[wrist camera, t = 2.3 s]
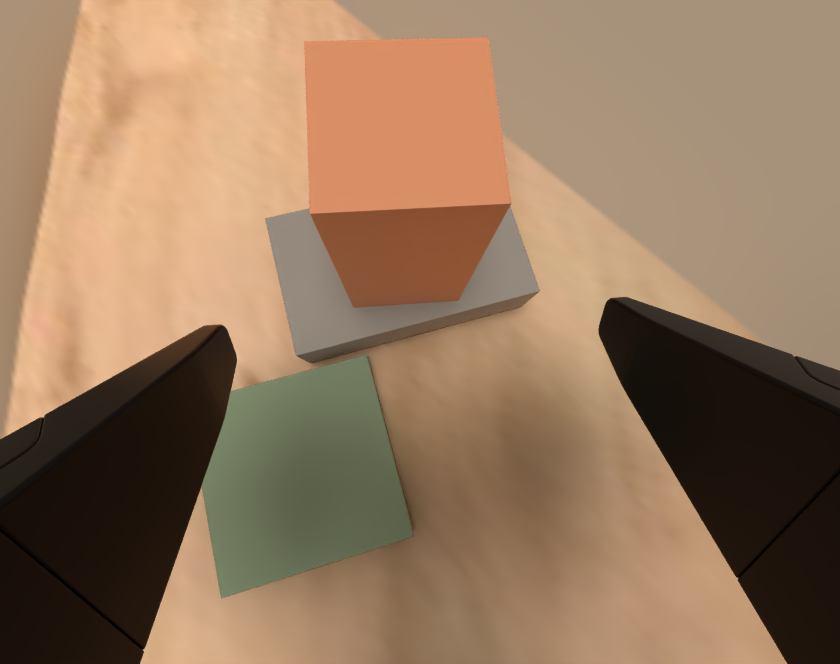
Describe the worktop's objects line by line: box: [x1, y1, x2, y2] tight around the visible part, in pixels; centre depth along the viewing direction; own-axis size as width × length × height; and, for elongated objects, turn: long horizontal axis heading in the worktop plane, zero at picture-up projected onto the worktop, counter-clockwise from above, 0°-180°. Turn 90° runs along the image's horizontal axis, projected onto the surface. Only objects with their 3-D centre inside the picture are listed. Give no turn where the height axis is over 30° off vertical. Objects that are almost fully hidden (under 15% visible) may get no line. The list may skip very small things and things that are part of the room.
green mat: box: [202, 355, 413, 598], centre depth 19 cm, size 9×9×1 cm
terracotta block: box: [304, 38, 511, 308], centre depth 14 cm, size 5×5×9 cm
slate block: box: [265, 207, 540, 363], centre depth 20 cm, size 7×12×3 cm, turn 106°
